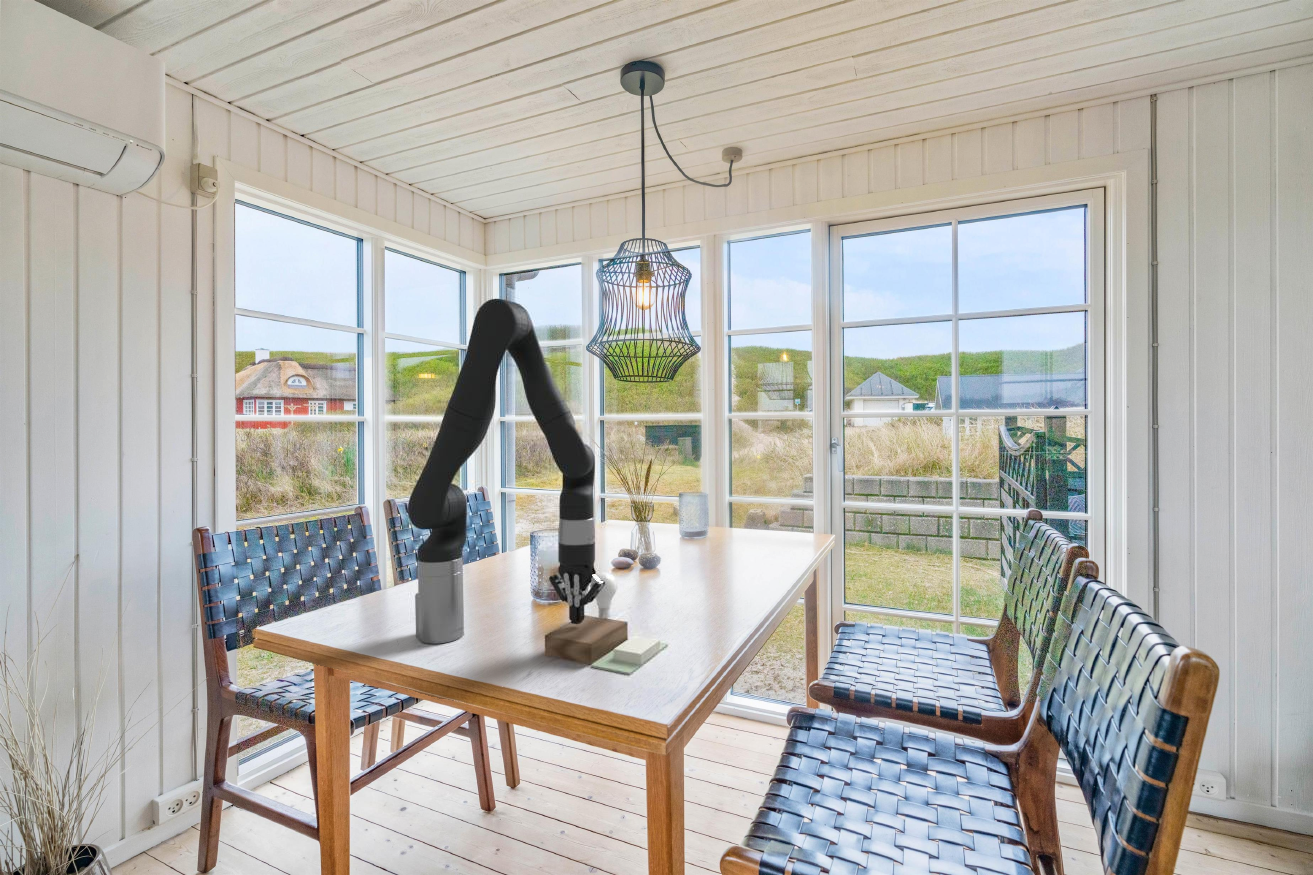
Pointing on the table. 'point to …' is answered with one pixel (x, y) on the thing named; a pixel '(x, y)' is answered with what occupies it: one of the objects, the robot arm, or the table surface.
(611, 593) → the lightbulb
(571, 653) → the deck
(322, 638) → the table surface
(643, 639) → the white flat block
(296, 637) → the table surface
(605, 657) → the mat
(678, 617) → the table surface
